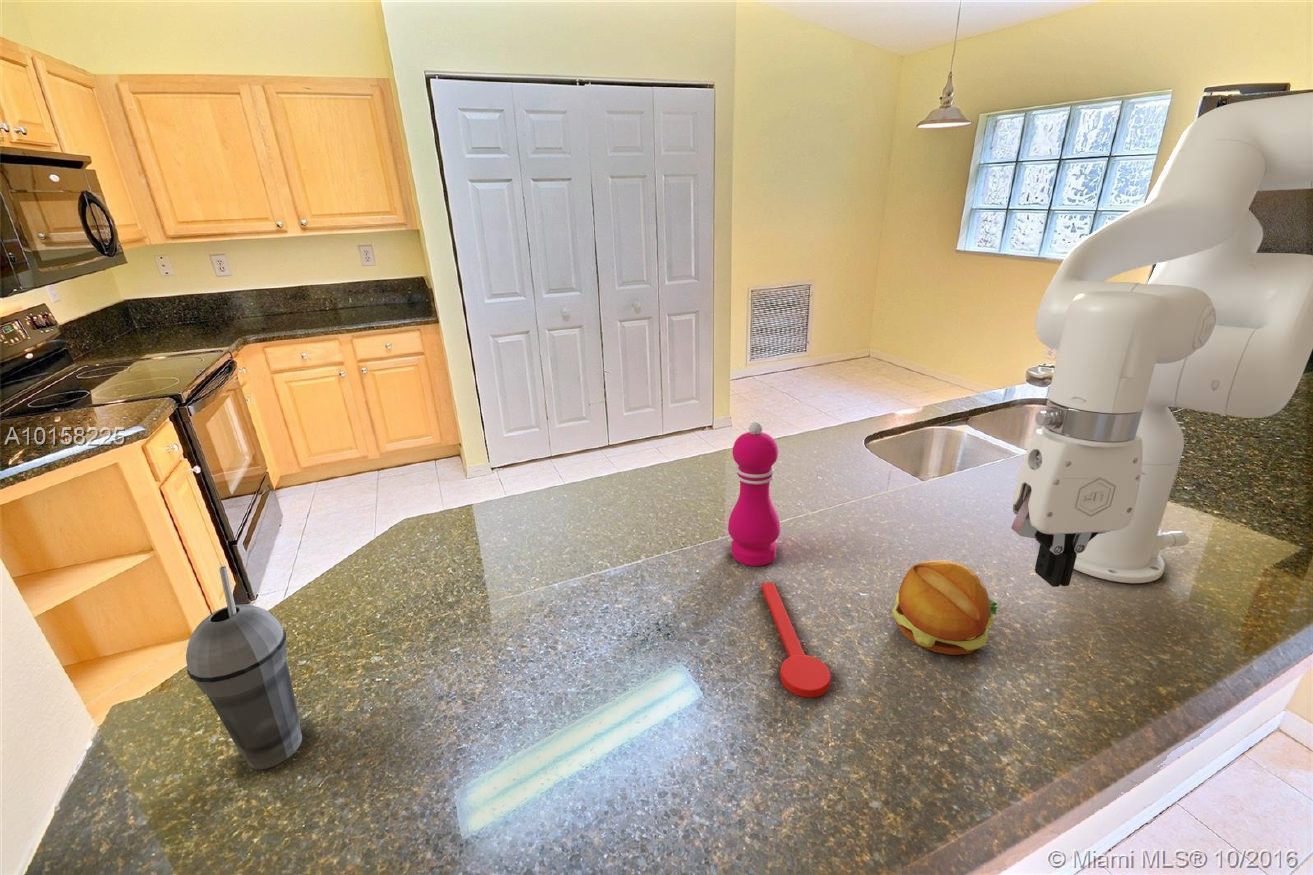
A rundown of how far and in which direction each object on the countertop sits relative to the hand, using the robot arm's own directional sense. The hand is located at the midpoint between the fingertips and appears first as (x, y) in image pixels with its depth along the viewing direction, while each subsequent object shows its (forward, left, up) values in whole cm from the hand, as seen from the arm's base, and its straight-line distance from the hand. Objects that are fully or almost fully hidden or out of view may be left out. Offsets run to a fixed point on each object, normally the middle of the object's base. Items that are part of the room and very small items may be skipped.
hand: (1051, 579), depth 63 cm
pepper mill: (+29, -19, -7) cm, 35 cm away
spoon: (+29, -1, -7) cm, 29 cm away
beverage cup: (+81, +8, -7) cm, 81 cm away
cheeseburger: (+12, 0, -7) cm, 13 cm away
